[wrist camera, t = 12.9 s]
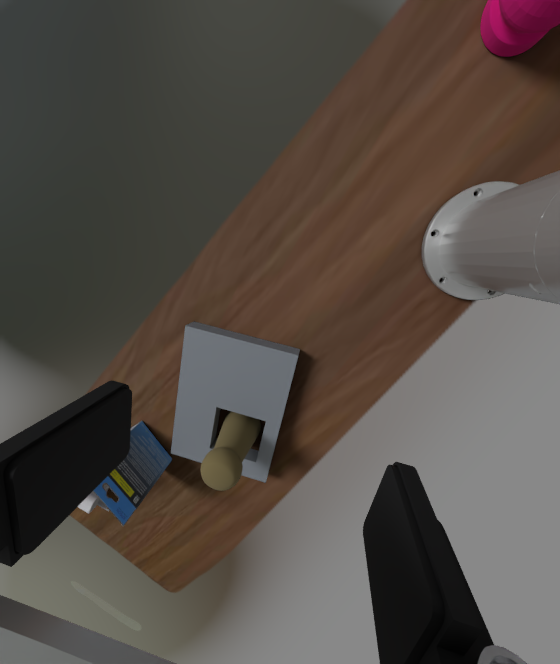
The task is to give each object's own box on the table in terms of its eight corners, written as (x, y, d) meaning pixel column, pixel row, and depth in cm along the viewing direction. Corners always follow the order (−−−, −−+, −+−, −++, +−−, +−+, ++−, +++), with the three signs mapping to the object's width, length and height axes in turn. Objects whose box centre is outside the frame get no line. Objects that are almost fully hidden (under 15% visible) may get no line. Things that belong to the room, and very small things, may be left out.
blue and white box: (127, 428, 46) (61, 486, 35) (142, 419, 45) (80, 476, 34) (158, 467, 48) (105, 535, 36) (174, 459, 47) (124, 527, 35)
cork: (219, 410, 43) (186, 460, 32) (255, 405, 41) (232, 455, 31) (230, 442, 44) (201, 501, 33) (265, 438, 43) (246, 497, 32)
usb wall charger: (91, 471, 51) (72, 488, 47) (122, 490, 51) (106, 509, 47) (85, 484, 52) (66, 502, 48) (116, 503, 52) (99, 522, 48)
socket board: (300, 349, 38) (298, 355, 35) (268, 470, 44) (265, 482, 42) (193, 321, 39) (185, 325, 37) (178, 443, 46) (170, 453, 43)
